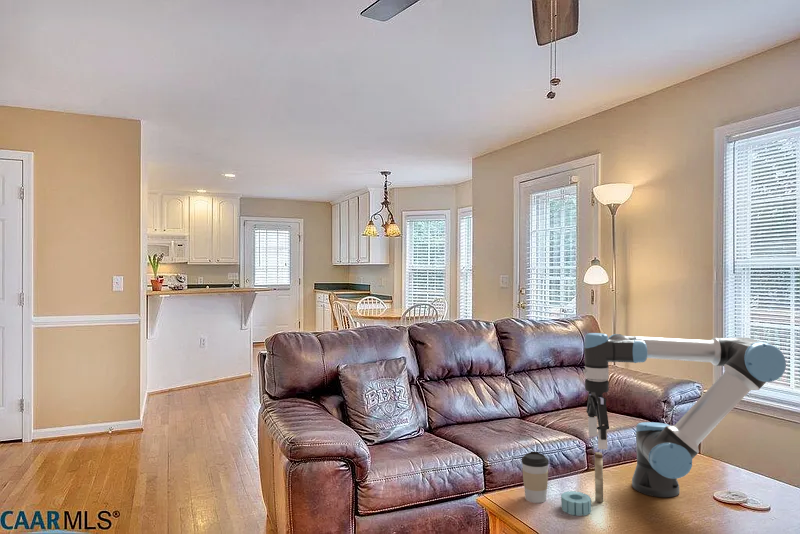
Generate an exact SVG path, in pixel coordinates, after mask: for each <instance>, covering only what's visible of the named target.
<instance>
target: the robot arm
mask: <svg viewBox="0 0 800 534" xmlns="http://www.w3.org/2000/svg"><path fill="white" fill-rule="evenodd" d="M583 348H584V350H583V352H584V369H583V371H582V372H583V373H584V378H585V379H584V389H585V391H587V392H588V394H587V395H588V397H587V405H586V414H587V416H588V417H587V419H588V423H587V425H588V426H587V427H588V429H587V430H588V433H587V434H588V437H597V449H598V450H608V430H610V425H609V424H610V423H609V418H608V409H607V399H606V397H604V395H603V394H605V393H608V392H609V391H610V390H609V388H610V386H609V385H610V384H609V380H608V379H609V377H610V376H609V374H610V373H609V371H610V370H609V363H629V364H631V363H633V364H637V363H639V364H641V363H645V362H646V361H647V359H657V360H671V361H684V362H685V361H686V362H698V363H699V362H700V363H701V362H702V363H711V365H713V366H715V367H723V368H724V372H723V373H722V374H721V375H720V377H719V378H717V380H716V381H715V382H714V383H713V384H712V385H711V386H710V387H709V388H708V389H707V390H706V391H705V392H704V393H703V394H702V396H701V397H700V398H699V399H698V400H697V401H696V402H695V403H694V404H693V405H692V406H691V407H690V408H689V409H688V410H687V412H685V414H684V415H683V416H682V417H681V418H680V419H679V420H678V421H677V422H676V424H674V425H670V424H668V423H664V422H663V423H662V422H653V421H651V422H650V421H648V422H647V421H646V422H645V421H644V422H643V421H642V422H638V423H637V424H636V428H635V429H636V430H635V434H636V435H635V437H636V438H635V439H636V441H635V443H636V466H635V470H634V473H633V474H632V478H631V486H632V488H633V489H634V490H635V491H637V492H638V493H640V494H641V493H642V494H644V495H647V496H651V497H657V498H672V497H676V496H678V495H680V484H679V481H678V479H681V478H684V477H685V476H687V475H688V474H689V473H690V471H691V470H692V467H693V459H694V458H695V457H696V456H697V455H698V454H699V453H700V451H699V444H701V443H702V442H703V441H704V439H705V438H706V437H707V436H708V435H709V434H710V433H711V432H712V431H713V430H714V429H715V428H716V427H717V426H718V425H719V424H720V423H721V422H722V421H723V419H725V417H726V416H727V415H728V414H729V413H730V412H731V411H732V410H733V409H734V408H735V407H736V406H737V405H738V404H739V403H740V402H741V401H742V400H743V399H744V397H746V395H747V394H748V393H749V392H750V391H759V390H761V388H762V387H763V386H764V385H765V384H766V383H771V382H774V381H776V380H778V379H781V378H782V377H783V375H784V374H785V371H786V369H787V362H786V357H785V355H784V354H783V352H782V351H781V350H780V349H779V348H778V347H777V346H775V345H773V344H771V343H769V342H766V341H761V340H757V339H752V338H749V337H712V338H711V339H693V338H692V339H691V338H690V339H689V338H673V337H655V336H638V335H635V336H634V335H623V334H619V333H614V334H611V335H610V336H609V335H608V334H606V333H605V332H604V333H603V332H602V333H601V332H589V333H588V332H587V333H586V334H585V335H584V346H583Z"/></svg>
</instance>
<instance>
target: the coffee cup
mask: <svg viewBox="0 0 800 534" xmlns="http://www.w3.org/2000/svg"><path fill="white" fill-rule="evenodd" d="M521 464H522V465H521V466H522V469H521V470H522V480H523V489H524V495H525V498H524V499H525V500H526V501H528V502H529V503H534V504H542V502H543V503H545V502H546V501H547V493H548V490H547V489H548V481H549V464H550V463H549V459H548V458H547V457H546V456H545V455H544V454H541V453H540V452H538V451H530V452H528V453H525V454H524V455H523V456H522V457H521Z"/></svg>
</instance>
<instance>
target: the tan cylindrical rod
mask: <svg viewBox="0 0 800 534" xmlns="http://www.w3.org/2000/svg"><path fill="white" fill-rule="evenodd" d="M593 456H594V490H595V492H594V493H595V497H594V498H595V502H596V503H601V504H602V503H604V474H603V473H604V471H603V470H604V467H603V466H604V465H603V464H604V463H603V460H604V459H603V452H599V451H597V452H594V455H593Z"/></svg>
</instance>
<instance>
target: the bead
mask: <svg viewBox="0 0 800 534" xmlns="http://www.w3.org/2000/svg"><path fill="white" fill-rule="evenodd" d="M560 497H561V498H560V501H561V507H562V508H561V510H562V511H563V512H564V513H566V514H569V515H571V516H578V517H581V516H588V515H590V514H591V513H592V498H591V496H590V495H589V494H588V493H587V494H586V493H585V492H580V491H575V490H573V491H571V490H570V491H569V490H568V491H564V492H562V493H561V495H560Z"/></svg>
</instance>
